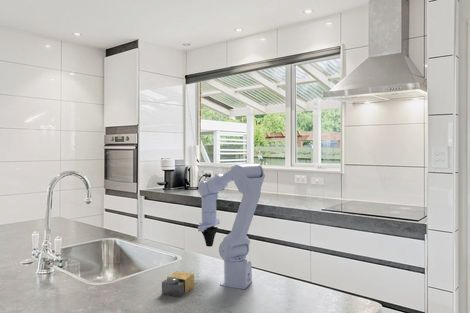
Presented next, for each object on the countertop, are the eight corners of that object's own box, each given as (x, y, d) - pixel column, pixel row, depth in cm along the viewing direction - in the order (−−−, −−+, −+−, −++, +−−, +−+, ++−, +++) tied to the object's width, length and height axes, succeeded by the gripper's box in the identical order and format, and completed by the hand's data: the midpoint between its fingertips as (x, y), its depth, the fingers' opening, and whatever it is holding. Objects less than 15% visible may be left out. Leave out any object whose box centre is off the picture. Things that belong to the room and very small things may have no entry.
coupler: (193, 287, 127) (192, 273, 127) (178, 298, 118) (178, 282, 118) (175, 285, 129) (175, 271, 129) (160, 294, 121) (160, 279, 121)
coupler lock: (194, 287, 127) (194, 273, 127) (185, 293, 122) (184, 279, 122) (177, 284, 130) (176, 271, 130) (167, 290, 125) (167, 276, 125)
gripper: (208, 208, 151) (208, 240, 152) (190, 214, 138) (191, 249, 138) (223, 208, 149) (224, 242, 149) (207, 215, 135) (207, 251, 136)
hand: (209, 246), depth 143 cm, fingers closed
